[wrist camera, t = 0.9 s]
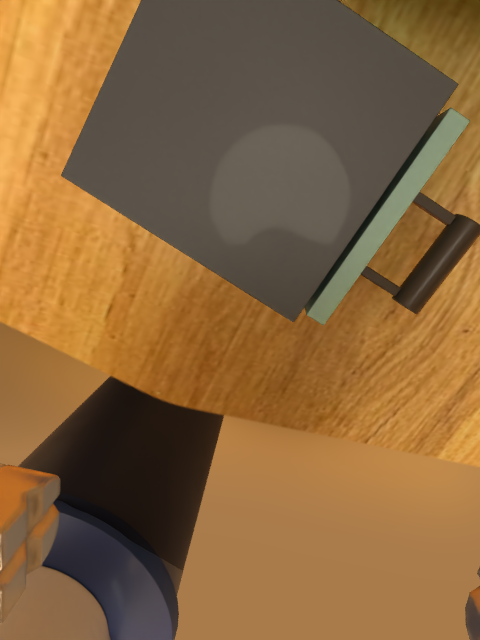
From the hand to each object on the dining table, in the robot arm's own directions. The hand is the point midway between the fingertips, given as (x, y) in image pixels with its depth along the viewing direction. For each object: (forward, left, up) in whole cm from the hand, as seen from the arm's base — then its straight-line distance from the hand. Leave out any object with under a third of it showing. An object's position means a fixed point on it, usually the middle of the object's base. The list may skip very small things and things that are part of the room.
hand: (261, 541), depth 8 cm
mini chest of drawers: (+8, +6, -25) cm, 27 cm away
